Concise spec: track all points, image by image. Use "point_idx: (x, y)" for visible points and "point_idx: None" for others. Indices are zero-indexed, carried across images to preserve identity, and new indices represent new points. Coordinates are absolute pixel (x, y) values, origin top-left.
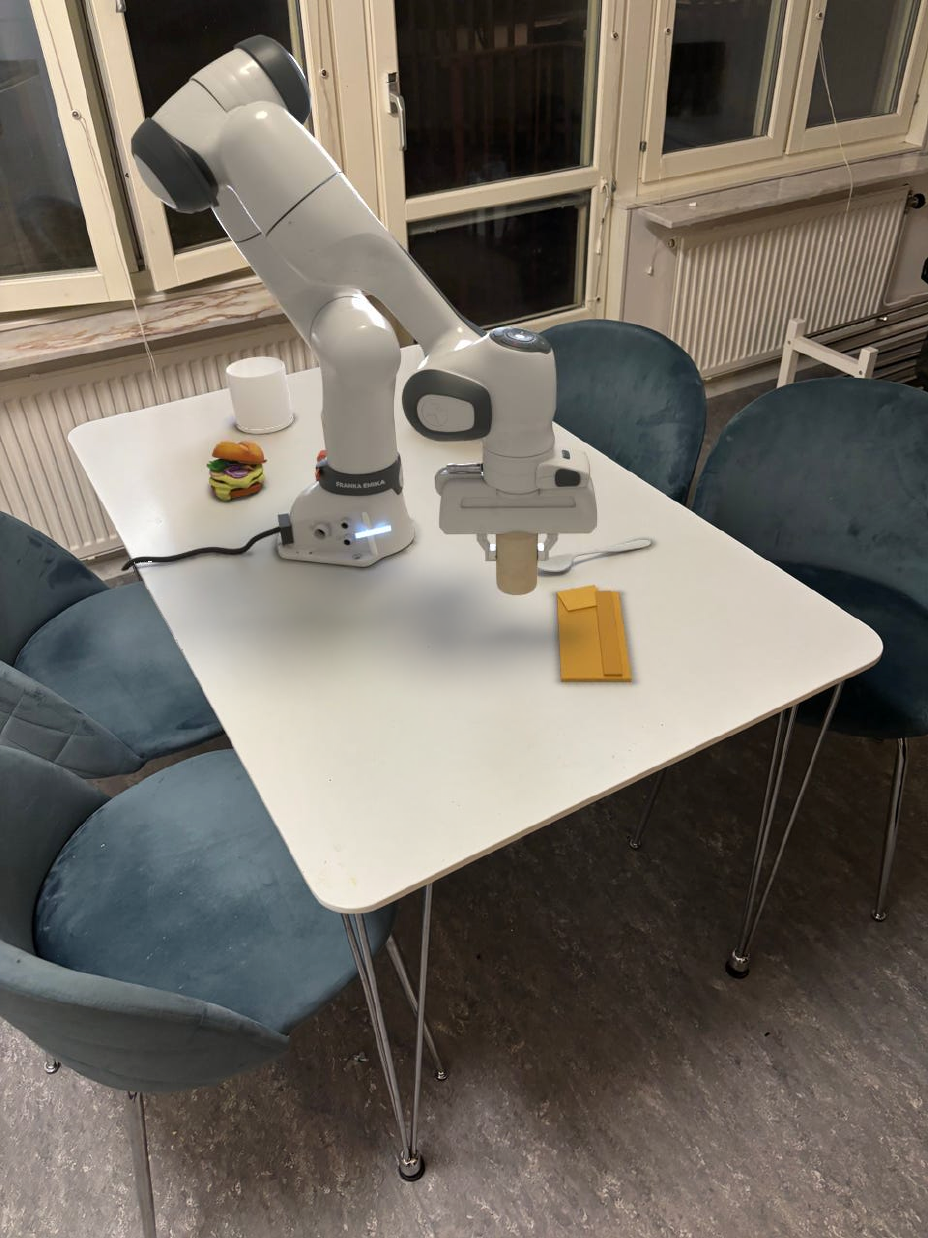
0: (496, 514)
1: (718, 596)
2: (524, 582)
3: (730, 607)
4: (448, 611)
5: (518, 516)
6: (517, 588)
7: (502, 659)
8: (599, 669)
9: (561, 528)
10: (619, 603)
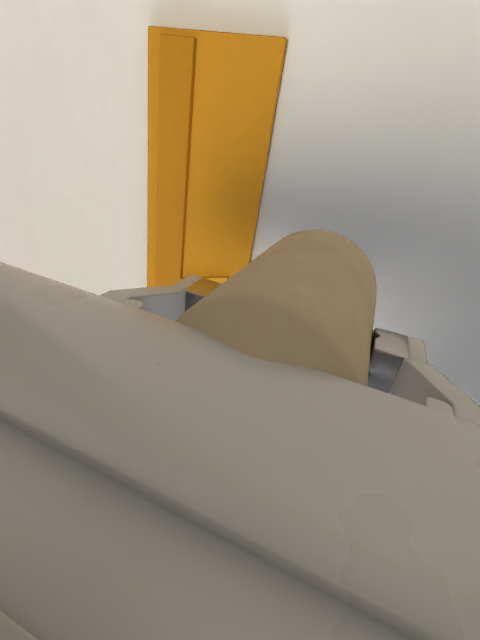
0: (369, 518)
1: (33, 259)
2: (295, 237)
3: (19, 229)
4: (460, 356)
5: (189, 417)
6: (323, 234)
7: (400, 153)
8: (202, 68)
9: (33, 286)
10: (148, 276)
